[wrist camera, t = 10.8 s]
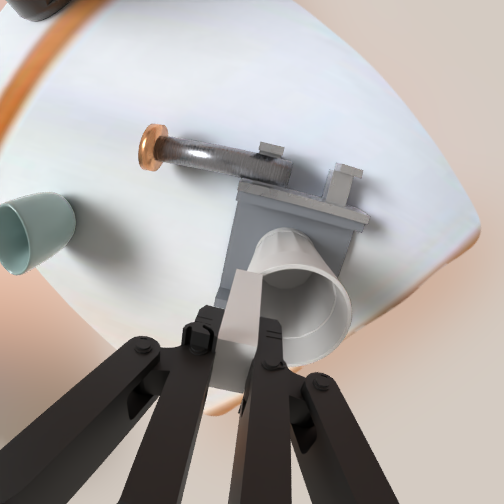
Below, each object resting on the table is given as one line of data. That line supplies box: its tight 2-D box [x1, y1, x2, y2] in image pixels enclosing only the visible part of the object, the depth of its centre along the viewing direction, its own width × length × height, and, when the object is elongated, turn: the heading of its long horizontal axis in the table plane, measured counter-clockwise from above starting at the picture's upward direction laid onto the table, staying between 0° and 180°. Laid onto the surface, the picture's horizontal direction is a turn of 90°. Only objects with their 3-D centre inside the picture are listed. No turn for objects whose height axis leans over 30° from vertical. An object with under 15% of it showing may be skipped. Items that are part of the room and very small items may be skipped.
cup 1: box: [0, 192, 76, 275], centre depth 26 cm, size 8×8×10 cm
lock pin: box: [138, 124, 293, 188], centre depth 24 cm, size 13×4×4 cm, turn 77°
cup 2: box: [247, 227, 352, 367], centre depth 24 cm, size 8×8×12 cm
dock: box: [214, 191, 365, 309], centre depth 29 cm, size 12×12×3 cm
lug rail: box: [238, 142, 370, 225], centre depth 25 cm, size 4×12×4 cm, turn 77°
